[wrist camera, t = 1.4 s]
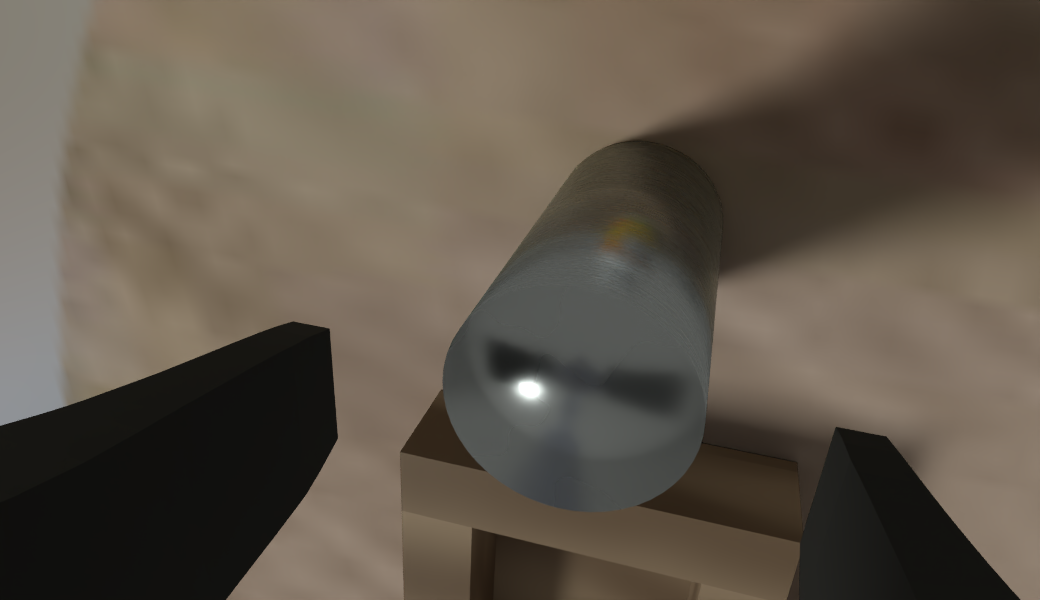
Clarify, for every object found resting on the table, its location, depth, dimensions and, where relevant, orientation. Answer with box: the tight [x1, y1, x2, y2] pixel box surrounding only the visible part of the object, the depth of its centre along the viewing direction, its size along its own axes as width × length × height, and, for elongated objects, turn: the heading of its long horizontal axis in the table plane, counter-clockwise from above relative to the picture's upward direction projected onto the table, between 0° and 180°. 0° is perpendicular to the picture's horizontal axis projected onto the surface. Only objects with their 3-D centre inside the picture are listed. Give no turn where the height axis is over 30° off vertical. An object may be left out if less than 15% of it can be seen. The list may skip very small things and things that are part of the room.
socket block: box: [400, 390, 803, 600], centre depth 22 cm, size 10×10×3 cm
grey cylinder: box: [443, 141, 723, 512], centre depth 15 cm, size 4×4×8 cm
